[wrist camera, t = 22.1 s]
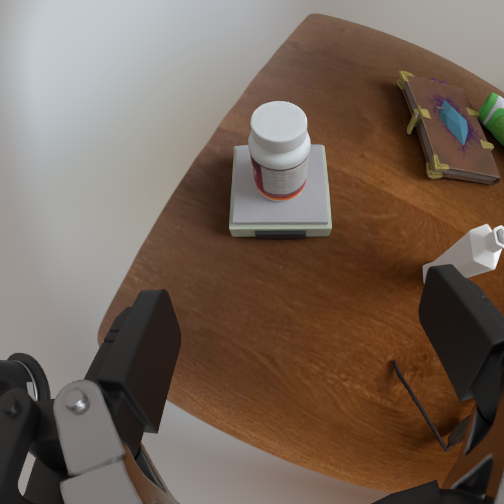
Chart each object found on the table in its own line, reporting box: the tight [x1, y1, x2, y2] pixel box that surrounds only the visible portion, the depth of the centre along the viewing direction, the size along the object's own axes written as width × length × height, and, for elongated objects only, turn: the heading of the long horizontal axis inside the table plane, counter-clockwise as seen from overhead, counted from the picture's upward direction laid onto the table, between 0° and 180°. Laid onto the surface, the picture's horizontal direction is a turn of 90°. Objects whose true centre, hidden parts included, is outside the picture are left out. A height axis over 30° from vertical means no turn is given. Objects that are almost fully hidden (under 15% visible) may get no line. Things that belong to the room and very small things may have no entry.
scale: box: [229, 145, 332, 239], centre depth 38 cm, size 12×12×3 cm
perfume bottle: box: [423, 224, 504, 283], centre depth 27 cm, size 5×4×15 cm
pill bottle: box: [248, 101, 310, 202], centre depth 31 cm, size 6×6×11 cm
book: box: [397, 71, 500, 185], centre depth 39 cm, size 16×25×5 cm, turn 179°
